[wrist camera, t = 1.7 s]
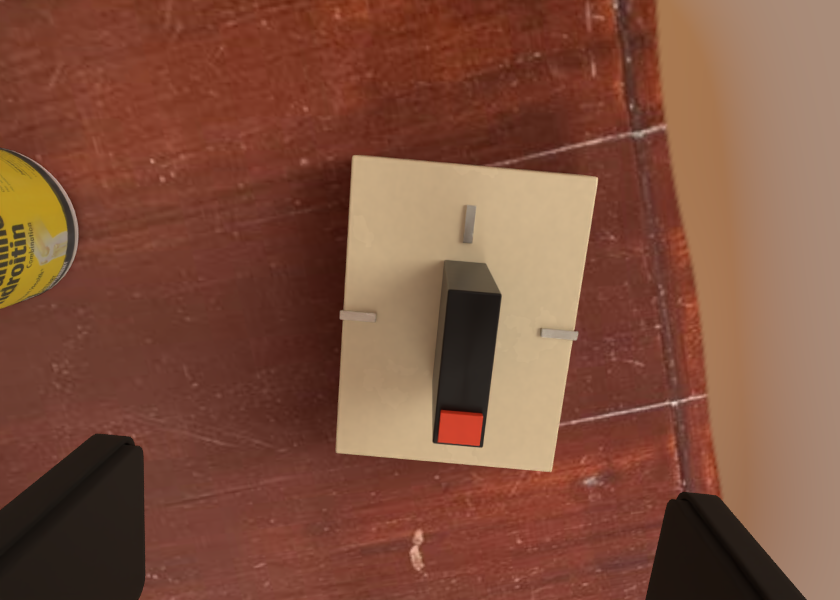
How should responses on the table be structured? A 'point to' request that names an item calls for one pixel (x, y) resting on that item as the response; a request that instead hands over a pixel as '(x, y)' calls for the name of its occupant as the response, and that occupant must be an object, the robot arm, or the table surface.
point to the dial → (464, 353)
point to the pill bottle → (32, 229)
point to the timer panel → (421, 291)
